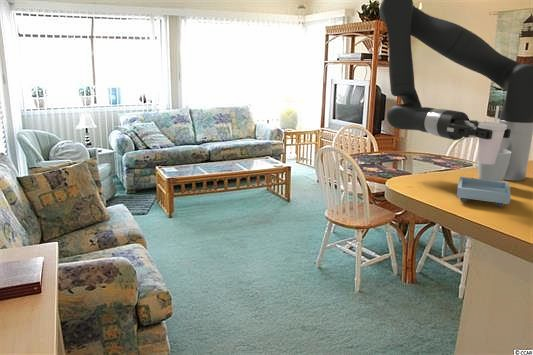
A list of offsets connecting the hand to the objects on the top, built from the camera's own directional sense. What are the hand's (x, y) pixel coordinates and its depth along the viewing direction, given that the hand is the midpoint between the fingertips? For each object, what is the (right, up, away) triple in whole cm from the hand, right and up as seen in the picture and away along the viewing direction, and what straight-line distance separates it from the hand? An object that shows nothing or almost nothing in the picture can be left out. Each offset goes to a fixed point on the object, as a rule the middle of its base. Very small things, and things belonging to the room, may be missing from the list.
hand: (500, 134), depth 106 cm
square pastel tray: (-1, -16, +7) cm, 17 cm away
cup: (+8, -13, +21) cm, 26 cm away
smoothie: (-1, -7, +4) cm, 8 cm away
